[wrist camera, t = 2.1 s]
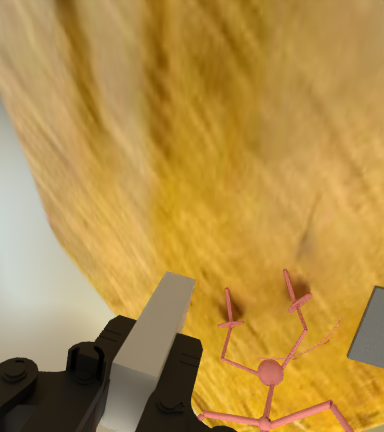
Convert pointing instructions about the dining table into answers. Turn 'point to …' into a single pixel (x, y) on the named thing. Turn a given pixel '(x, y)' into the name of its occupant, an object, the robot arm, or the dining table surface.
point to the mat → (370, 332)
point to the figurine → (273, 376)
